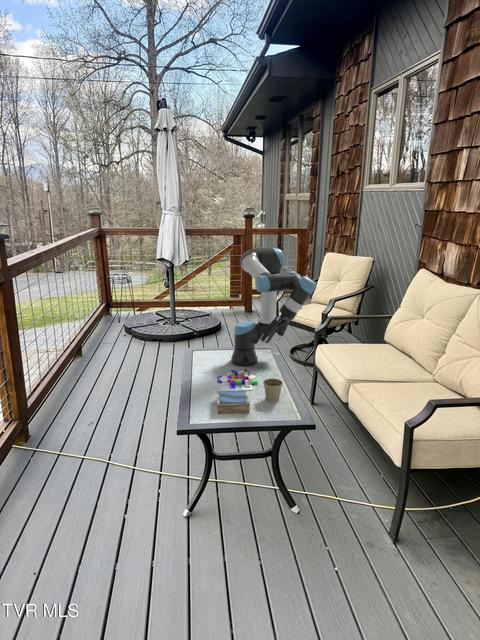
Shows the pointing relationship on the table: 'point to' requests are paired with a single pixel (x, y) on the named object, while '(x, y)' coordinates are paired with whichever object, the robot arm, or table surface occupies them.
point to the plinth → (233, 402)
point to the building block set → (245, 381)
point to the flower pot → (272, 389)
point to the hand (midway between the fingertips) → (264, 345)
